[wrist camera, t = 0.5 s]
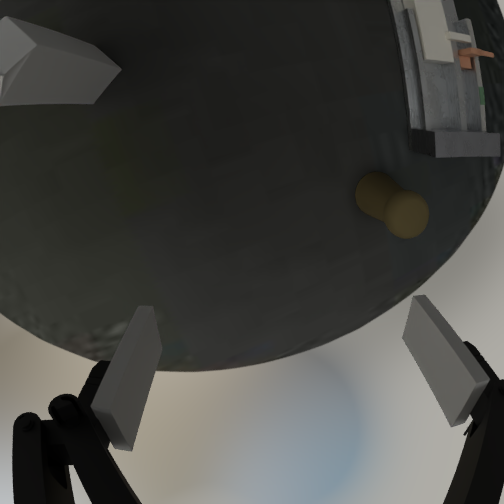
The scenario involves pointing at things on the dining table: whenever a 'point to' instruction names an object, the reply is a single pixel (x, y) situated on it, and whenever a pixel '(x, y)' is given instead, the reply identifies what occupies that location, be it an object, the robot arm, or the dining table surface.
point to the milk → (49, 66)
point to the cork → (392, 205)
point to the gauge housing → (442, 92)
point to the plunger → (434, 31)
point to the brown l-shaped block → (470, 52)
